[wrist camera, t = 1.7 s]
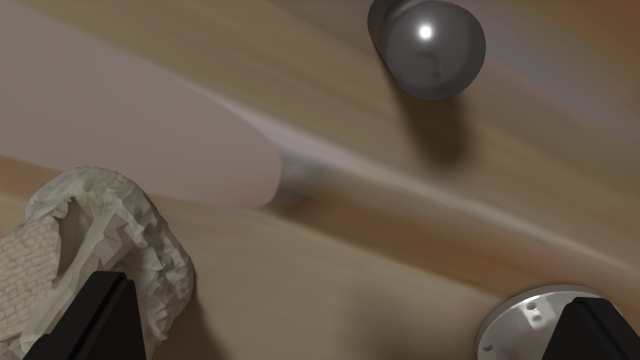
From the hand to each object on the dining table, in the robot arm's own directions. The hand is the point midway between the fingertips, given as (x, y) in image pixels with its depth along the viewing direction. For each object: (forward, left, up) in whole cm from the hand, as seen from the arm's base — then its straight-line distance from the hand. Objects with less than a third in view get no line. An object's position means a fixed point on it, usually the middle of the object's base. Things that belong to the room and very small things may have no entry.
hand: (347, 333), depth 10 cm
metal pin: (-4, -4, -22) cm, 23 cm away
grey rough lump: (+19, +15, -22) cm, 33 cm away
